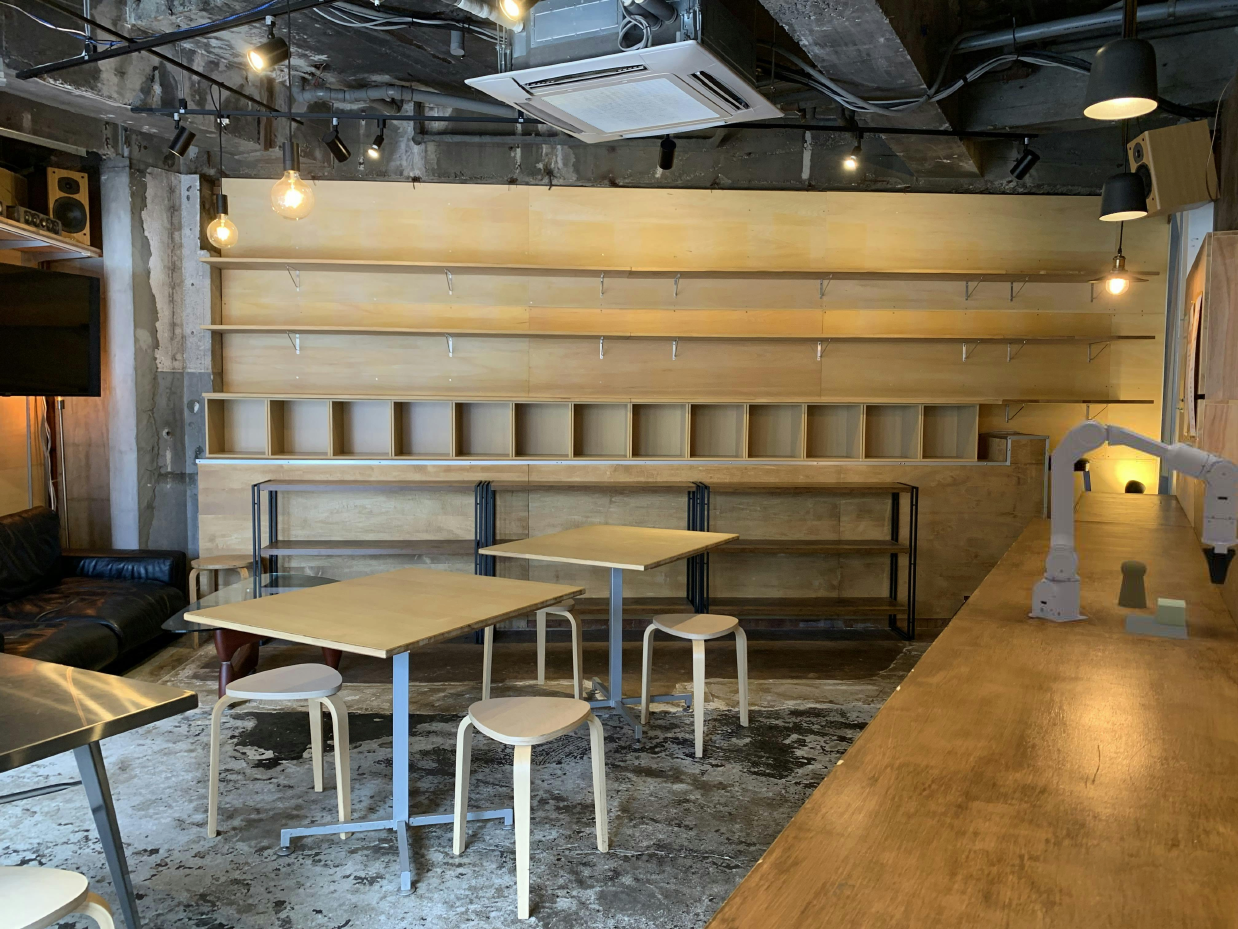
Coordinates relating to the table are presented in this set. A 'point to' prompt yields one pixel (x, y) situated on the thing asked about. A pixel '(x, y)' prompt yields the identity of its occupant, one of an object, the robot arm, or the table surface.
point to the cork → (1133, 585)
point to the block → (1171, 612)
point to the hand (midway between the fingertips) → (1217, 583)
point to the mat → (1153, 627)
